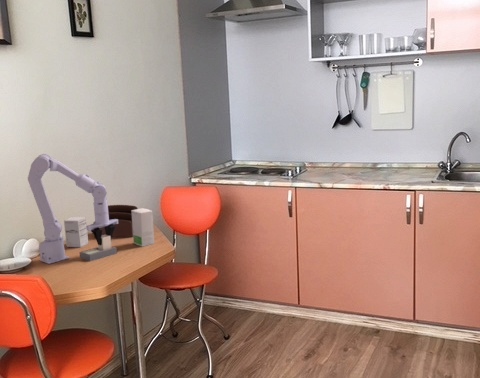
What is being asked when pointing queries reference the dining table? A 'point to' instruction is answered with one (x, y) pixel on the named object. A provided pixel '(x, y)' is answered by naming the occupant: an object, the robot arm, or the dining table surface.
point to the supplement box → (76, 231)
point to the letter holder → (121, 220)
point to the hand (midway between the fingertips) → (104, 243)
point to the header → (97, 253)
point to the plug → (105, 243)
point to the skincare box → (142, 227)
